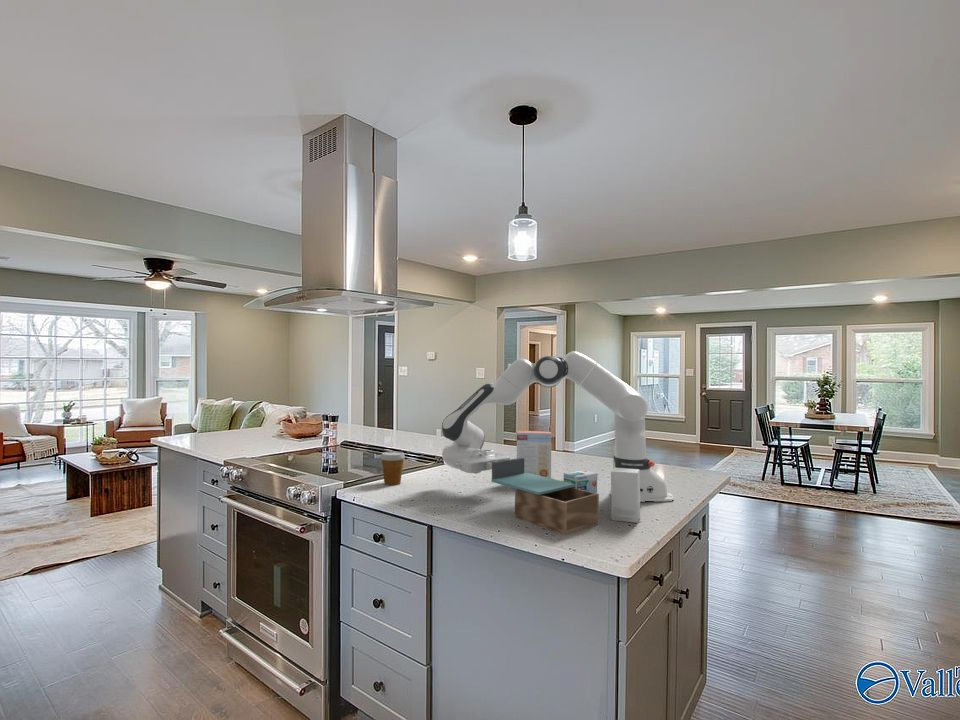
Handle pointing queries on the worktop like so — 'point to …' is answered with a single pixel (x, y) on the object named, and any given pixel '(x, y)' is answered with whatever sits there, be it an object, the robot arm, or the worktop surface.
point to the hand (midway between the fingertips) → (500, 466)
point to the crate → (558, 509)
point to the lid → (524, 478)
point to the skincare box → (625, 494)
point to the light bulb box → (582, 480)
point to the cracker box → (535, 452)
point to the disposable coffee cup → (392, 467)
